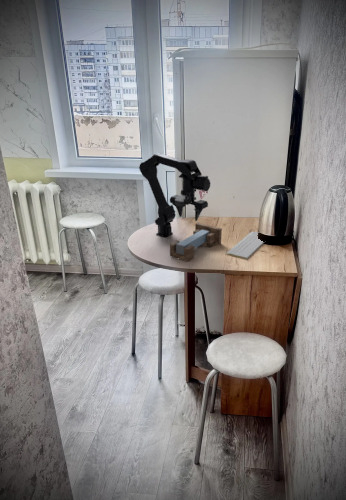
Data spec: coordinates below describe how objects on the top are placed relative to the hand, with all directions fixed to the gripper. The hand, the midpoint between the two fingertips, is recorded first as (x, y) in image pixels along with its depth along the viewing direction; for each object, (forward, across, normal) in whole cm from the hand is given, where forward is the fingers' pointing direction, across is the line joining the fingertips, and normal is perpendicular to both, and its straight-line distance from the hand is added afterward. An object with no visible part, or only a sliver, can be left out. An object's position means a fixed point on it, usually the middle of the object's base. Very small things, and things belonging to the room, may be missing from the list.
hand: (188, 218), depth 189 cm
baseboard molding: (+13, +26, +14) cm, 32 cm away
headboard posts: (+12, +8, -7) cm, 16 cm away
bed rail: (+10, +8, -7) cm, 15 cm away
